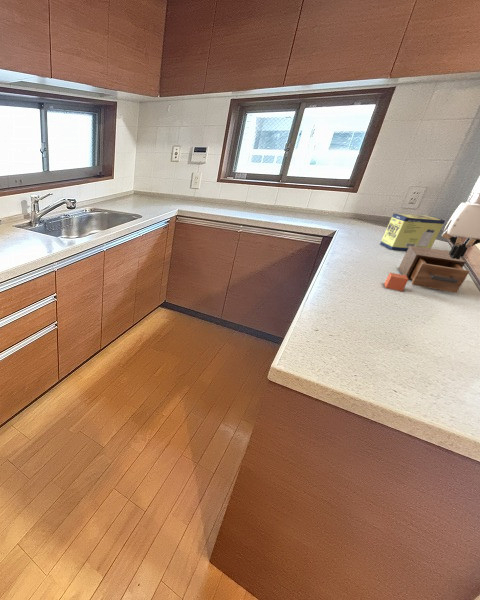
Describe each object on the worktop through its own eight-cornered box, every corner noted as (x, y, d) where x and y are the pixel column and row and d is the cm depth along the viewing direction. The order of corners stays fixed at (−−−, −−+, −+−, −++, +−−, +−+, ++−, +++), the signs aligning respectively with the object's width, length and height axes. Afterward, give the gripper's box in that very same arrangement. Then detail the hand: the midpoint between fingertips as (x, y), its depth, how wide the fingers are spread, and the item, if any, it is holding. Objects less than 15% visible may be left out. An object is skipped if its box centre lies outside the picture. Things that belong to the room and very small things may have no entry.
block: (400, 287, 115) (406, 275, 113) (402, 291, 112) (408, 279, 110) (384, 284, 117) (389, 272, 115) (385, 288, 114) (391, 276, 112)
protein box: (378, 243, 165) (392, 213, 158) (415, 246, 162) (431, 215, 155) (390, 249, 156) (405, 217, 149) (429, 253, 153) (446, 220, 146)
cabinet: (450, 287, 116) (465, 262, 111) (404, 279, 122) (416, 254, 118) (440, 275, 126) (454, 251, 122) (398, 268, 133) (409, 245, 129)
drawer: (461, 297, 106) (474, 275, 102) (414, 289, 111) (425, 267, 108) (446, 280, 119) (457, 260, 116) (405, 273, 125) (415, 254, 121)
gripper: (518, 200, 96) (483, 259, 105) (448, 196, 104) (420, 250, 112) (529, 204, 91) (492, 265, 99) (454, 199, 99) (425, 256, 107)
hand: (454, 257), depth 106 cm, fingers closed
